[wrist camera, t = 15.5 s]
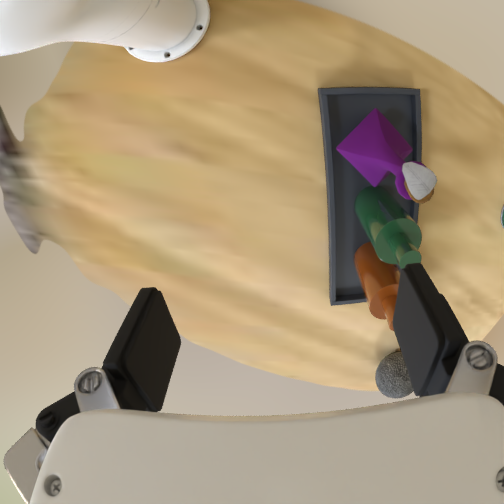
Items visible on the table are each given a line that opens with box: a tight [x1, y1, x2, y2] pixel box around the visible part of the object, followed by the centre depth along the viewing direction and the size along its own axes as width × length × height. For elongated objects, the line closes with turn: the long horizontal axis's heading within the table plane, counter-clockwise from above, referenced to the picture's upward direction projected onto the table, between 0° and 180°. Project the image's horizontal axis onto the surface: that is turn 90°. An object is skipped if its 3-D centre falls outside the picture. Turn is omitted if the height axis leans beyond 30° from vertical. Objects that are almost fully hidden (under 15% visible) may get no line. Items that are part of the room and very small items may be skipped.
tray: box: [318, 87, 422, 306], centre depth 41 cm, size 34×14×2 cm, turn 8°
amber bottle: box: [353, 242, 400, 331], centre depth 40 cm, size 6×6×15 cm
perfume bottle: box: [336, 108, 437, 203], centre depth 30 cm, size 8×8×18 cm
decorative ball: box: [375, 352, 414, 398], centre depth 55 cm, size 10×10×10 cm
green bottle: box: [354, 186, 422, 269], centre depth 35 cm, size 6×6×15 cm
